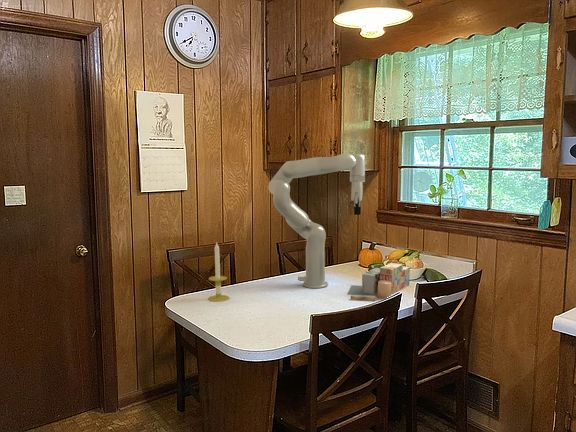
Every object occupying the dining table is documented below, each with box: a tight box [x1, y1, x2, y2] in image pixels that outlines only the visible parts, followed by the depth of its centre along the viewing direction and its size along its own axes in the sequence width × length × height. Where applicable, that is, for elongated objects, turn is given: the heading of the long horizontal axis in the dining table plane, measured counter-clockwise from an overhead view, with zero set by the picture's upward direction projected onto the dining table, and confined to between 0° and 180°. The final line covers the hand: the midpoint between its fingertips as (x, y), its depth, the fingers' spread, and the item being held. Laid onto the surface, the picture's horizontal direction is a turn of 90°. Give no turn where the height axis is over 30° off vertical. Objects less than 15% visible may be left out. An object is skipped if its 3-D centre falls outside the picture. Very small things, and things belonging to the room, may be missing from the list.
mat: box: [347, 284, 377, 297], centre depth 233 cm, size 16×16×1 cm
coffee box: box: [361, 267, 380, 294], centre depth 233 cm, size 9×6×16 cm
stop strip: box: [350, 295, 376, 302], centre depth 218 cm, size 11×1×2 cm, turn 76°
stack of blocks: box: [380, 262, 411, 295], centre depth 234 cm, size 21×6×12 cm, turn 143°
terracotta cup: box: [376, 280, 392, 300], centre depth 221 cm, size 6×6×7 cm
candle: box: [207, 242, 230, 303], centre depth 223 cm, size 10×10×27 cm
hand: (357, 214), depth 247 cm, fingers closed
